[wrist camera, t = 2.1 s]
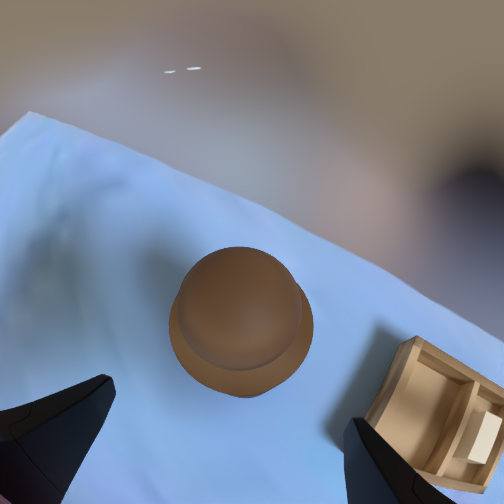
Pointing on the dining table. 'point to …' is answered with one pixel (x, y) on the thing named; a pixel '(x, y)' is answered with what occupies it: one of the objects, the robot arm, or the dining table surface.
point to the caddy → (435, 414)
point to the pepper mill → (240, 322)
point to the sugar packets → (478, 438)
